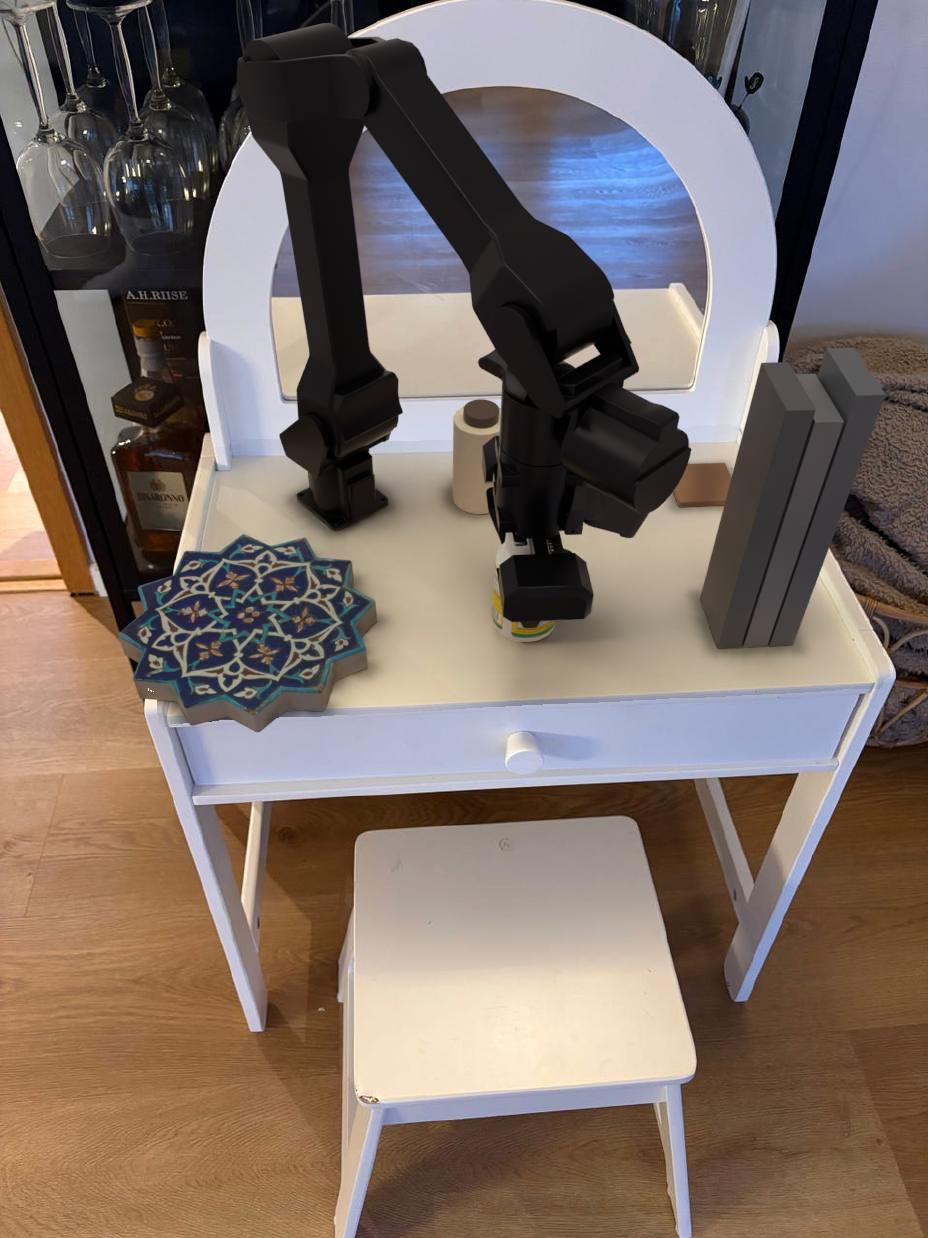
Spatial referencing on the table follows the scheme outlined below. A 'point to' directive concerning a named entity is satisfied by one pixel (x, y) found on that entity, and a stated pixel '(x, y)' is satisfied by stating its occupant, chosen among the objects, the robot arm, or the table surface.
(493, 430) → the cream bottle
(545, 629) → the supplement bottle
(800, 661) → the table surface
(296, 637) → the decorative tile
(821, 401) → the grey grooved column
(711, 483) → the oak coaster
